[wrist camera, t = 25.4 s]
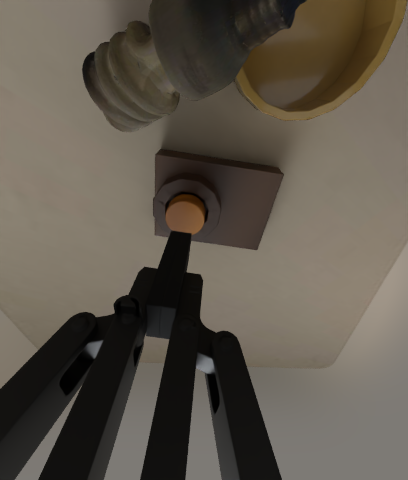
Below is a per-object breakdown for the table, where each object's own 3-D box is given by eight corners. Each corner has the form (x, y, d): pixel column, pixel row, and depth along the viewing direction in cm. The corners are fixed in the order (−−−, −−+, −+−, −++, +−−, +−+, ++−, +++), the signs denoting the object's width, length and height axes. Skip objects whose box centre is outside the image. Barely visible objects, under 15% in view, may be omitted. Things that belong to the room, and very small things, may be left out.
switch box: (278, 167, 22) (289, 181, 19) (254, 239, 27) (259, 260, 24) (160, 148, 21) (150, 159, 18) (159, 225, 27) (150, 244, 23)
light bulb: (311, 85, 10) (120, 150, 19) (319, 26, 12) (144, 108, 21) (289, -107, 6) (56, 86, 15) (306, -149, 8) (93, 42, 17)
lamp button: (207, 196, 20) (206, 204, 19) (202, 229, 22) (201, 238, 21) (169, 190, 20) (165, 198, 19) (167, 223, 22) (164, 233, 21)
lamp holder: (404, -58, 14) (463, -105, 10) (328, 124, 20) (350, 131, 16) (245, -90, 13) (253, -149, 10) (216, 106, 19) (216, 109, 16)
